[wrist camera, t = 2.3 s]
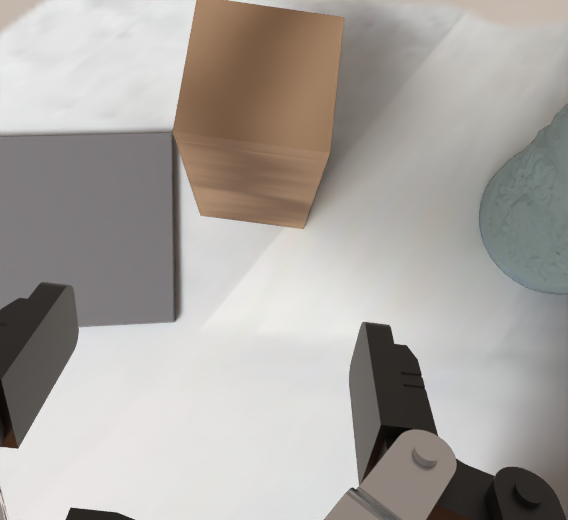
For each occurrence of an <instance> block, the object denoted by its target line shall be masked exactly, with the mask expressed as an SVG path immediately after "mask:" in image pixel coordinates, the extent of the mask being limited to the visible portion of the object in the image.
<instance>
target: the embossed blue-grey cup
mask: <svg viewBox="0 0 568 520" xmlns="http://www.w3.org/2000/svg"><path fill="white" fill-rule="evenodd" d="M479 226H480V231H481V235H482V239H483V242H484V245H485V247H486V249H487V251H488V253H489V254H490V256H491V258H492V259H493V260H494V262H495V263H496V265H497V266H498V267H499V268H500V269H501V270H502V271H503V272H504V273H505V274H506V275H508V276H509V277H510V278H511V279H513V280H514V281H516V282H518V283H519V284H521V285H523V286H525V287H527V288H530V289H533V290H535V291H539V292H544V293H552V294H568V104H567V105H566V106H565V107H564V108H563V109H562V110H561V111H560V112H559V113H558V114H557V115H556V116H555V117H554V119H553V121H552V124H551V125H549V126H547V127H545V128H544V129H542V130H541V131H540V132H539V133H538V135H537V136H536V138H535V139H534V140H533V142H532V143H531V144H530V145H529V146H528V147H527V149H526V150H524V151H522V152H520V153H519V154H517V155H515V156H514V157H513V158H511V159H510V160H509V161H508V162H507V163H506V164H505V165H504V166H503V167H502V168H501V169H500V170H499V171H498V172H497V173H496V175H495V176H494V177H493V178H492V179H491V181H490V182H489V184H488V185H487V187H486V190H485V192H484V194H483V197H482V201H481V204H480V212H479Z"/></svg>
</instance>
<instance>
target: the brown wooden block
mask: <svg viewBox="0 0 568 520" xmlns="http://www.w3.org/2000/svg"><path fill="white" fill-rule="evenodd" d="M343 25H344V17H338V16H331V15H324V14H318V13H311V12H304V11H297V10H290V9H283V8H276V7H269V6H262V5H255V4H248V3H241V2H235V1H228V0H196V6H195V11H194V17H193V22H192V28H191V33H190V39H189V44H188V50H187V55H186V61H185V67H184V72H183V78H182V83H181V89H180V94H179V100H178V105H177V111H176V116H175V122H174V127H173V134H174V137H175V140H176V143H177V146H178V149H179V152H180V155H181V158H182V161H183V164H184V167H185V170H186V173H187V176H188V179H189V182H190V185H191V188H192V191H193V194H194V197H195V200H196V203H197V206H198V209H199V212H200V215H201V216H208V217H216V218H224V219H231V220H239V221H247V222H254V223H262V224H270V225H277V226H285V227H293V228H301V229H303V228H304V226H305V223H306V220H307V217H308V214H309V212H310V209H311V206H312V203H313V200H314V197H315V195H316V192H317V189H318V186H319V183H320V180H321V178H322V175H323V172H324V169H325V166H326V163H327V161H328V158H329V155H330V150H331V140H332V130H333V121H334V111H335V102H336V92H337V82H338V73H339V63H340V54H341V44H342V34H343Z"/></svg>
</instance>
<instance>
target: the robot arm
mask: <svg viewBox="0 0 568 520" xmlns="http://www.w3.org/2000/svg"><path fill="white" fill-rule="evenodd" d="M78 332H79V328H78V319H77V311H76V303H75V295H74V289H73V287H72V286H71V285H65V284H57V283H49V282H41V283H40V284H39V285H38V286H37V288H36V289H35V290H34V291H33V293H32V294H31V295H30V296H29V298H28V299H26V298H18V299H16V300H15V301H13V302H11V303H10V304H8V305H6V306H5V307H3V308H2V309H1V310H0V447H8V448H17V449H18V448H19V446H20V444H21V443H22V441H23V439H24V437H25V436H26V434H27V432H28V430H29V429H30V427H31V425H32V423H33V422H34V420H35V418H36V416H37V414H38V413H39V411H40V409H41V407H42V406H43V404H44V402H45V400H46V399H47V397H48V395H49V393H50V392H51V390H52V388H53V386H54V385H55V383H56V381H57V379H58V378H59V376H60V374H61V372H62V371H63V369H64V367H65V365H66V364H67V362H68V360H69V358H70V357H71V355H72V353H73V351H74V349H75V347H76V344H77V340H78ZM421 375H422V374H421V371H420V367H419V363H418V360H417V358H416V357H415V356H414V354H413V353H412V352H411V351H410V349H409V348H408V347H407V345H398V344H394V340H393V336H392V331H391V327H390V326H389V325H385V324H377V323H369V322H362V324H361V327H360V330H359V334H358V338H357V341H356V345H355V349H354V353H353V356H352V360H351V365H350V373H349V387H350V397H351V407H352V417H353V427H354V438H355V448H356V458H357V468H358V478H359V487H358V488H357V489H354V488H351V489H349V490H348V491H347V492H346V493H345V494H344V496H343V497H342V498H341V499H340V501H339V502H338V503H337V504H336V505H335V507H334V508H333V509H332V510H331V512H330V513H329V514H328V515H327V516H326V518H325V519H324V520H566V517H565V515H564V512H563V510H562V507H561V504H560V502H559V500H558V497H557V495H556V494H555V492H554V491H553V489H552V488H551V487H550V486H549V485H548V484H547V483H546V482H545V481H544V480H543V479H541V478H540V477H539V476H537V475H536V474H534V473H532V472H530V471H528V470H525V469H523V468H518V467H506V468H503V469H501V470H500V471H499V472H498V473H497V474H496V476H493V475H490V474H488V473H485V472H483V471H480V470H478V469H475V468H473V467H470V466H468V465H466V464H464V463H462V462H461V461H459V460H458V459H456V458H455V455H454V453H453V451H452V449H451V448H450V447H449V445H448V444H447V443H446V442H445V441H444V440H442V439H441V438H440V437H438V434H437V430H436V427H435V423H434V419H433V415H432V412H431V408H430V404H429V400H428V397H427V393H426V390H425V386H424V382H423V378H422V377H421ZM0 520H9V518H8V514H7V510H6V506H5V502H4V499H3V495H2V491H1V487H0ZM66 520H134V519H132V518H129V517H127V516H124V515H122V514H119V513H116V512H107V511H97V510H88V509H79V508H70V510H69V513H68V515H67V518H66Z"/></svg>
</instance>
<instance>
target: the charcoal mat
mask: <svg viewBox="0 0 568 520" xmlns="http://www.w3.org/2000/svg"><path fill="white" fill-rule="evenodd" d="M41 282H49V283H57V284H65V285H71V286H72V287H73V289H74V295H75V303H76V311H77V319H78V327H89V326H108V325H128V324H147V323H166V322H175V280H174V193H173V136H172V133H136V134H96V135H55V136H15V137H0V310H1V309H2V308H3V307H5V306H6V305H8V304H10V303H11V302H13V301H15V300H16V299H18V298H26V299H28V298H29V296H30V295H31V294H32V293H33V291H34V290H35V289H36V288H37V286H38V285H39V284H40V283H41Z"/></svg>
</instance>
